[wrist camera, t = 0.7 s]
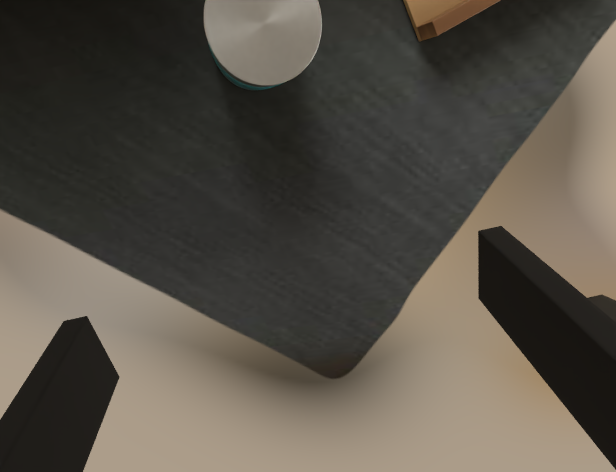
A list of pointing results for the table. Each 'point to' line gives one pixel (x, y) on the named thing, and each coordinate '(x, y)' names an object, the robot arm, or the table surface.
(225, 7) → the can
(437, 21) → the corner tray
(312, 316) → the table surface
